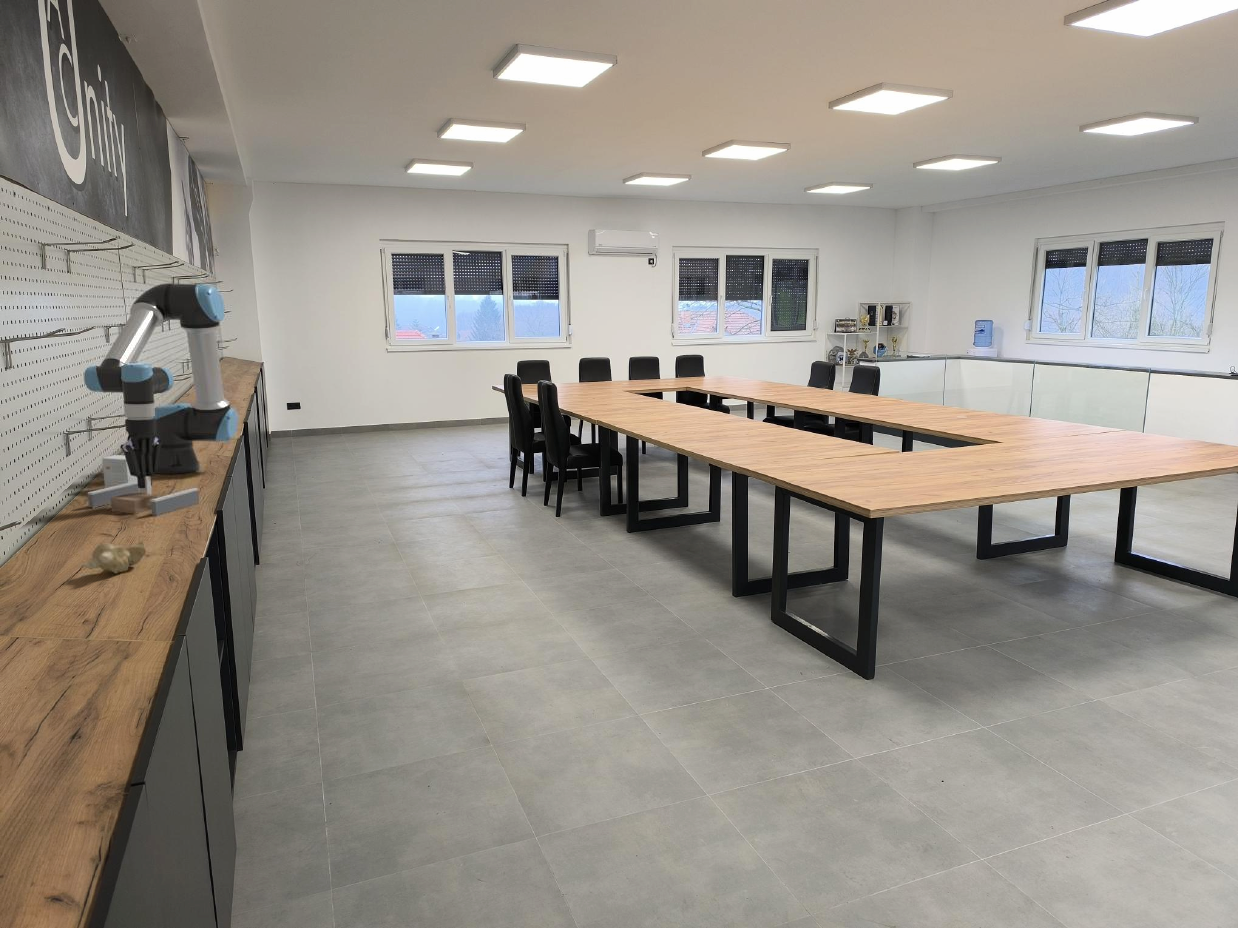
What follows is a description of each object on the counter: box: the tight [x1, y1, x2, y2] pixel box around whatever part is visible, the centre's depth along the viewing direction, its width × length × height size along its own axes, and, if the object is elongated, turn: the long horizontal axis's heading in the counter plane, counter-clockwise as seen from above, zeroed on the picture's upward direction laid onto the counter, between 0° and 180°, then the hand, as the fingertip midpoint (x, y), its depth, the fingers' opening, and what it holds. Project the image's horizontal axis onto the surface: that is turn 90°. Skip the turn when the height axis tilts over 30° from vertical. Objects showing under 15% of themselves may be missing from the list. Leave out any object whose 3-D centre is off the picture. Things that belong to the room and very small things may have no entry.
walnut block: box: [110, 492, 158, 515], centre depth 229 cm, size 8×8×4 cm
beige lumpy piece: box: [83, 540, 147, 575], centre depth 177 cm, size 8×7×12 cm
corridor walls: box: [87, 482, 200, 517], centre depth 233 cm, size 16×23×4 cm
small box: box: [101, 454, 138, 489], centre depth 250 cm, size 8×6×10 cm
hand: (146, 498), depth 233 cm, fingers closed
